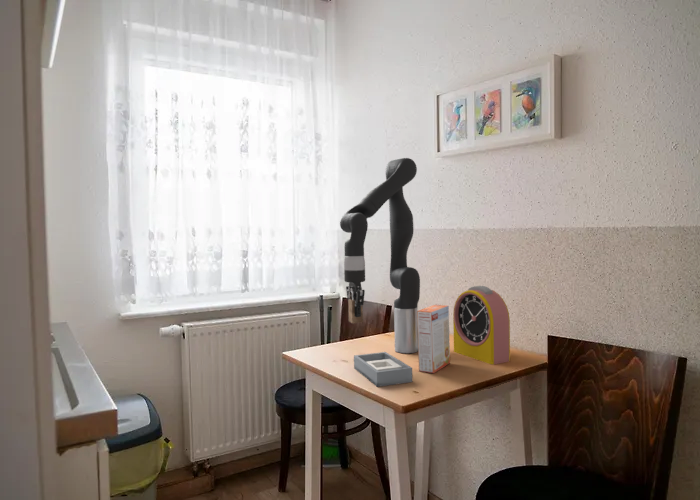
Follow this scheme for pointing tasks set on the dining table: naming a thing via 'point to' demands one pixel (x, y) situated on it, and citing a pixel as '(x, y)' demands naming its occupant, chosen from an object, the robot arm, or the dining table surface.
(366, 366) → the walled box
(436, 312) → the cracker box
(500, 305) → the alarm clock
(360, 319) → the peg
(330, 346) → the dining table surface
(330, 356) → the dining table surface
